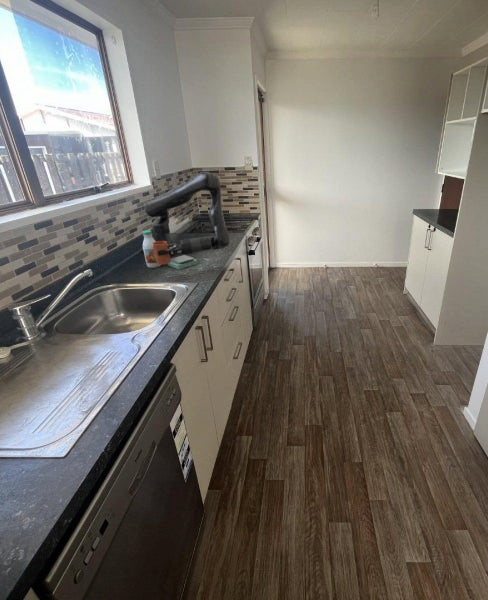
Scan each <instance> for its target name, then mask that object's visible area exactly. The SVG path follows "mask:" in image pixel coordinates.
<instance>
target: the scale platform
mask: <svg viewBox="0 0 488 600" xmlns="http://www.w3.org/2000/svg"><path fill="white" fill-rule="evenodd" d="M193 259H195V257H192V256H189V255H187V254H186V255H183V254H181V255H179V256H176V257H172V258H170V260H171V261H173V262H176V263H179V264H180V263H183V262H186V261H190V260H193Z"/></svg>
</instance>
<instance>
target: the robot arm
mask: <svg viewBox="0 0 488 600" xmlns="http://www.w3.org/2000/svg"><path fill="white" fill-rule="evenodd" d="M220 181H221V180H220V178H219V176H218V175H217V174H216V173H213V172H208V171H200V172H199V173H197V174H195V175H193V177H192V178H190V179H189V180H188V181H185V182H183V183H182V184H180V185H178V186H175V187H174V188H172V189H171V190H169V191H167V192H166V193H163V194H162V195H161V196H159V197H157V198H154V199H152V200H148V201H147V202H146V203H145V205H144V212H145V214H146V215H147V216H148V217H151V218H155V220H154V221H153V222H152V223H151V229H152V234H153V238H154V240H155V241H156V242H157V241H166V242H167V245H168V249H166V250H161V251H157V253H158V255H159V256H160V255H166V254H167V255H169V256H170V257H173V256H178V255H186V256H187V255H192V254H197V253H201V252H207V251H210V250H222V249H224V248H227V247H228V246H229V245H230V244H231V238H230V237H231V236H230V234H229V232H228V229H227V227H226V222H225V218H224V213H223V205H222V192H221V182H220ZM202 191H205V192H209V195H210V199H211V201H210V202H211V203H210V207H209V220H210V225H211V228H212V230H213V231H214V233H215V236H203V237H202V236H201V237H191V238H186V239H180V240H179V243H176V242H173V241H172V235H171V230H170V217H169V216H170V215H169V210H171V209H175V208H177V207H180V206H182V205H184V204H187V203H188V202H190V201H191V199H192V198H193V196H194V195H195V194H197V193H199V192H202ZM142 252H144V251H143V249H140V251H139V253H142Z"/></svg>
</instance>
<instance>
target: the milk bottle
mask: <svg viewBox="0 0 488 600" xmlns="http://www.w3.org/2000/svg"><path fill="white" fill-rule="evenodd" d="M142 236H143V241H142V250H143V251H142V252H143V256H144V259H145V263H146V267H147V268H148V269H154V268H159V267H161V266H162V265H160V264H157V263H156V258H155V254H154V249H153V245H152V243H154V242H156V241H155V238H154V236H153V230H151V229H150V230H149V229H146V230H143V231H142Z"/></svg>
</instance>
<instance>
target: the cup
mask: <svg viewBox="0 0 488 600" xmlns="http://www.w3.org/2000/svg"><path fill="white" fill-rule="evenodd" d="M152 245H153V249H154V254H155V258H156V263H157V264H160V265H161V266H162V265H167V264H168V263H170V262H171V260H170V259H171V256H169V255H167V254H166V255H160V256H159V255H158V253H157V251H161V250H166V249H168V245H167V242H166V241H157V242H154V243H152Z"/></svg>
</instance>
